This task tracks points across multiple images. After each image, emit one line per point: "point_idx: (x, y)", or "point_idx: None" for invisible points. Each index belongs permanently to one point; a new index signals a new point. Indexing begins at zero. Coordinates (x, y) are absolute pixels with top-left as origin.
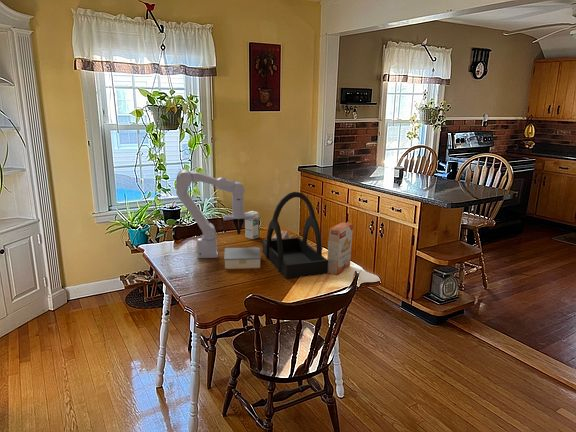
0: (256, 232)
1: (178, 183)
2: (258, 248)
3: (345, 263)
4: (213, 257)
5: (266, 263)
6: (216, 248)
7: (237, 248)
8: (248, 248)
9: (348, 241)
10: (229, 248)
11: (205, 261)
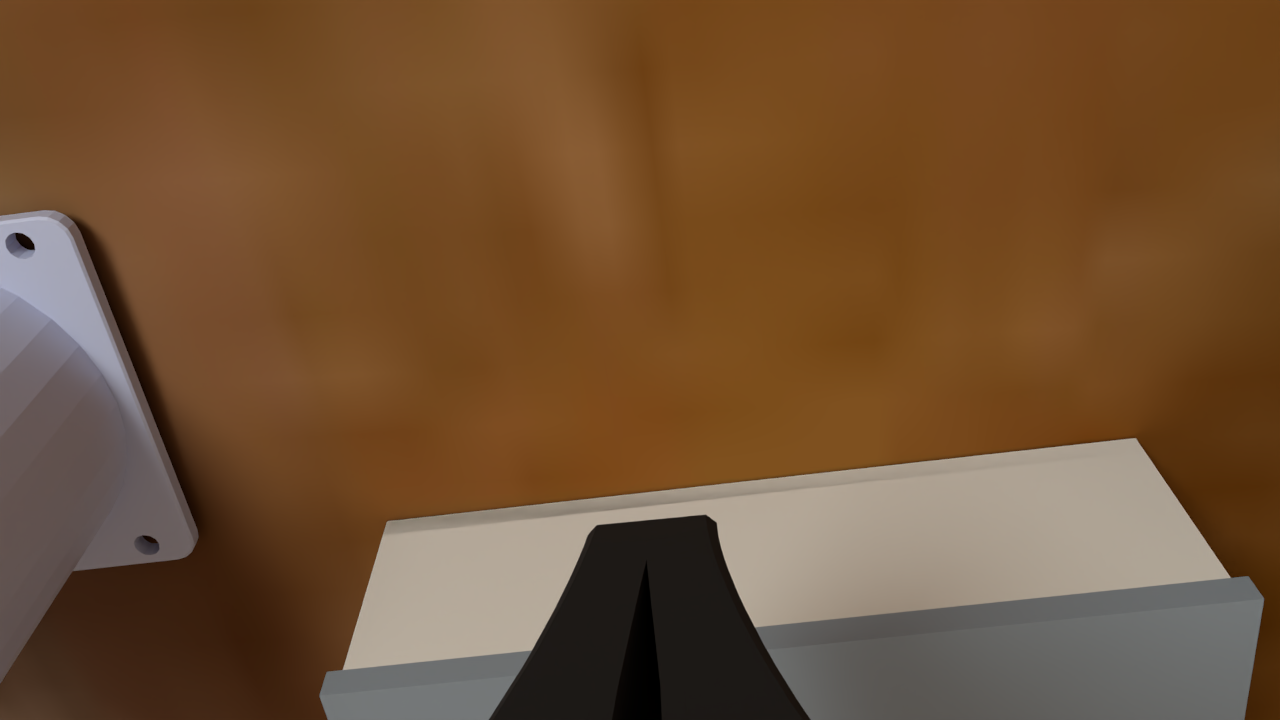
0: None
1: None
2: (1225, 673)
3: None
4: (120, 558)
5: (1246, 712)
6: (58, 529)
7: None
8: (953, 688)
9: None
10: (448, 714)
11: (42, 699)
